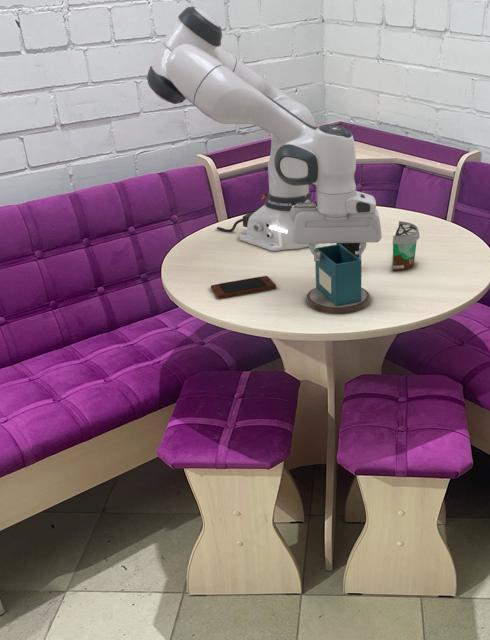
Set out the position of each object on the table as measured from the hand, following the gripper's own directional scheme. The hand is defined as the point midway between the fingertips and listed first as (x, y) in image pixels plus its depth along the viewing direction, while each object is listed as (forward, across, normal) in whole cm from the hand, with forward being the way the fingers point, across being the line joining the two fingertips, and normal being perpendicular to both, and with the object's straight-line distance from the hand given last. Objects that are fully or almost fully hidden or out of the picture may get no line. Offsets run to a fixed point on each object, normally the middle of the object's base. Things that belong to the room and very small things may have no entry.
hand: (337, 260), depth 174 cm
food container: (+11, +18, +22) cm, 30 cm away
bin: (+9, 0, 0) cm, 9 cm away
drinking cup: (+10, +3, +20) cm, 22 cm away
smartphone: (+10, -24, +8) cm, 27 cm away
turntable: (+10, 0, 0) cm, 10 cm away
